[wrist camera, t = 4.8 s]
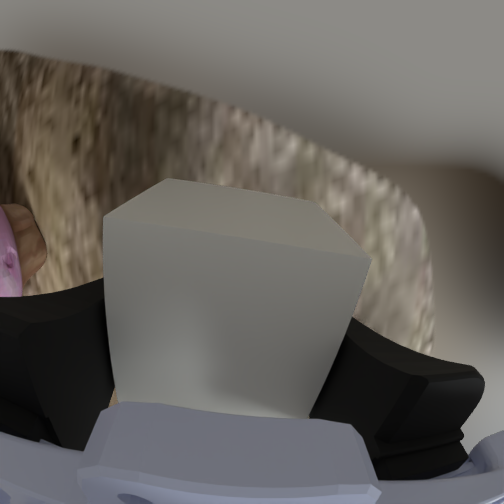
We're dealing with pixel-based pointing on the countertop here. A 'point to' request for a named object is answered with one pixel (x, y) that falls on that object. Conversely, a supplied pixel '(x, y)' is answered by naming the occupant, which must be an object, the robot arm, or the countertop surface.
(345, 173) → the countertop surface
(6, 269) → the cupcake
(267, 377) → the white rectangular block
